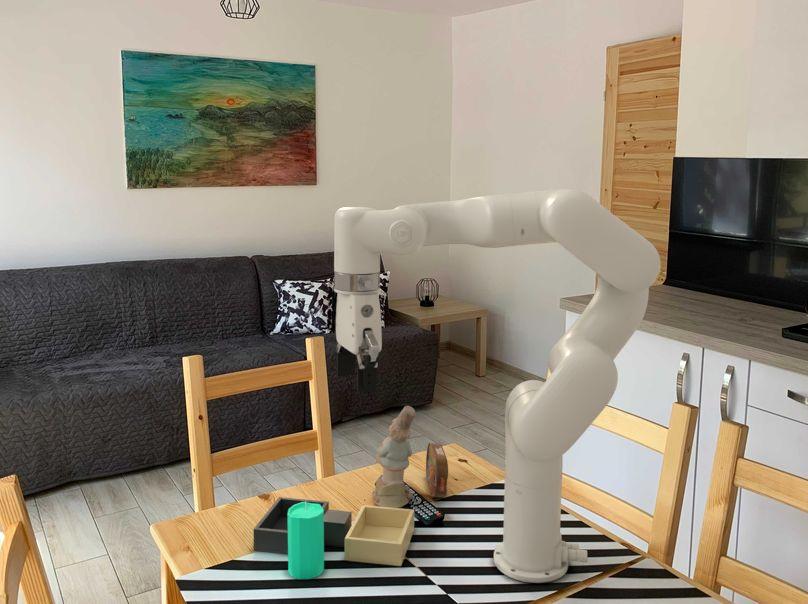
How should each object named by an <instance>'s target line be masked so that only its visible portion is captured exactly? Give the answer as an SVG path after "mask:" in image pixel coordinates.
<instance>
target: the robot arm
mask: <svg viewBox="0 0 808 604" xmlns="http://www.w3.org/2000/svg"><path fill="white" fill-rule="evenodd" d="M333 221H334V223H333V225H334V226H333V227H334V229H333V230H334V231H333V232H334V233H333V234H334V239H333V243H334V246H333V247H334V250H333V268H334V269H333V292H334V293H337V294H336V295H337V296H336V308H335V312H336V313H335V338H336V342H337V345H336V352H337V353H336V376H338V377H347V376H353V375H356V392H357V393H359V394H364V393H365V394H366V393H373V392H376V391H377V388H378V387H377V383H378V382H377V380H378V379H377V377H378V376H377V375H378V366H379V364H378V361H379V358H380V357H379V354H380V352H381V351H382V348H383V347H382V346H383V341H382V340H383V339H382V338H383V337H382V335H383V334H382V317H381V316H382V313H381V303H380V297H379V292H380V289H381V283H380V282H381V272H380V271H381V253H384V254H389V255H390V254H391V255H397V256H407V255H411V254H414V253H416V252H417V251H419V250H420V248H423V247H430V246H431V247H432V246H440V245H441V246H442V245H443V246H444V245H469V246H475V247H479V248H483V249H486V248H488V249H497V248H499V249H500V248H508V247H516V246H528V245H541V244H552V243H558V244H559V245H561V247H563V248H564V249H565V250H566V251H567V252H569V253H570V254H571V255H573V256H574V257H575V258H576V259H578V260H579V261H580V262H582V263H583V264H584V265H585V266H586V267H588V268H589V269H590V270H592V271H593V272H594V273H596V274H597V284H596V289H595V292H594V295H593V296H592V298H591V300H590V301H589V303H588V304H587V306H586V307H585V308H584V310H583V311H582V312H581V314H580V315H579V316H578V317H577V318H576V320H575V321H574V322H573V323H572V325H571V326H570V327H569V328H568V329H567V331H566V332H565V333H564V334H563V335H562V336H561V338H560V339H558V341H557V342H556V343H555V344H554V345H553V347H552V349H551V350H550V352H549V354H548V360H547V365H548V370H549V372H550V375H549V376H548V378H547V379H546V380H545V381H542V380H538V379H529V380H525V381H522V382H520V383H518V384H517V385H516V386H515V387H513V389H512V390H511V391H510V393H509V394H508V396H507V398H506V402H505V408H504V430H505V431H504V432H505V453H504V454H505V455H504V457H505V458H504V459H505V460H504V491H503V492H504V493H503V494H504V495H503V501H504V502H503V527H502V529H503V533H502V534H503V535H502V542H501V543H500V544H498V545H497V546H496V547H495V549H494V551H493V563H494V565H495V567H496V568H497V570H498V571H500V572H501V573H502V574H504V575H505V576H507V577H508V578H511V579H514V580H516V581H520V582H524V583H528V584H529V583H530V584H532V583H533V584H545V583H549V582H553V581H557V580H559V579H561V578H562V577H563V576H564V575H565V574H566V573H567V571H568V569H569V561H573V562H577V563H588V550H587V549H580V543H576V542H566V541H565V540H563V539H562V532H561V517H562V490H563V489H562V487H563V466H564V465H563V464H564V462H563V461H564V460H563V459H564V458H563V457H564V454H566V453H567V452H568V451H569V450H571V448H572V447H573V446H574V445H575V443H577V442H578V440H579V439H580V438H581V437H582V436H583V434H584V433H585V432H586V431H587V430H588V428H590V426H591V425H592V424H593V423H594V421H595V420H596V419H597V418H598V417H599V415H600V414H601V413H602V412H603V411H604V410H605V408H606V407H607V406H608V404H609V403H610V402H611V400H612V399H613V396H614V394H615V392H616V389H617V386H618V382H619V381H618V380H619V377H618V376H619V374H618V369H617V365H616V363H615V359H616V358H617V356H618V355H619V354H620V352H622V349H624V347H625V346H626V345H627V343H628V342H629V340H630V339H631V338H632V336H633V335H634V334H635V332H636V331H637V329H638V328H639V327H640V325H641V324H642V321H643V319H644V317H645V314H646V312H647V307H648V303H649V293H650V287H651V286H653V284H654V283H655V282H656V281H657V279H658V277H659V275H660V272H661V268H662V263H661V262H662V261H661V257H660V256H661V255H660V253H659V252H658V249H657V248H656V247H655V246H654V244H653V243H651V241H649V240H648V239H647V238H645V236H643V235H642V234H640V233H639V232H637V231H636V230H635V229H633V227H631V226H629V225H628V224H627V223H625V222H624V221H623V220H621V219H620V218H619V217H617V216H616V215H615V214H613V213H612V212H611V211H610V210H609V209H608V208H606V207H605V206H603V205H602V204H601V203H600V202H599V201H598V200H596V199H595V198H593V197H592V196H590V195H589V194H588V193H586V192H584V191H582V190H579V189H578V190H577V189H574V188H573V189H572V188H556V189H555V188H554V189H544V190H533V191H524V192H515V193H503V194H492V195H483V196H482V195H481V196H475V197H471V198H464V199H456V200H443V201H434V202H432V201H431V202H422V203H412V204H403V205H399V206H397V207H395V208H393V209H382V210H381V209H380V210H377V208H374V207H366V206H344V207H341V208H338V209H337V210H336V211H335V214H334V220H333ZM364 356H365V357H364ZM356 360H357V363H358V367H357V368H356Z"/></svg>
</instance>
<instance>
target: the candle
mask: <svg viewBox="0 0 808 604" xmlns="http://www.w3.org/2000/svg"><path fill="white" fill-rule="evenodd" d="M287 568H288V569H287V571H288V574H289V575H290V576H291V578H295V579H298V580H312V579H314V578H317V577H319V576H320V575H321V574H323V572H324V570H325V545H324V509H323V508H322V507H321V505H320V504H313V503H306V501H305V502H301V503H298V504H295V505H293V506H292V507H291V508H289V510H288V554H287Z"/></svg>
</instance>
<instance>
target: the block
mask: <svg viewBox="0 0 808 604" xmlns="http://www.w3.org/2000/svg"><path fill="white" fill-rule="evenodd" d="M352 517H353V515H352V511H349V510H348V511H345V510H337V509H329V510H327V512H326V514H325V515H324V547H336V548H344V549H345V537H346V535H347V533H348V531H349V530H350V528H351V526H352V524H353V522H352Z"/></svg>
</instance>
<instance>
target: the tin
mask: <svg viewBox="0 0 808 604" xmlns="http://www.w3.org/2000/svg"><path fill="white" fill-rule="evenodd" d="M448 462H449V461H448V458H447V455H446V453H445V450H444V448H443V445H442V444H441V443H432V442H429V443H428V444H427V447H426V457H425V477H426V483H427V485H428V489H429V493H430V495H431V498H445V497H446V496H447V492H448V490H447V488H448V479H449V463H448Z"/></svg>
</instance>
